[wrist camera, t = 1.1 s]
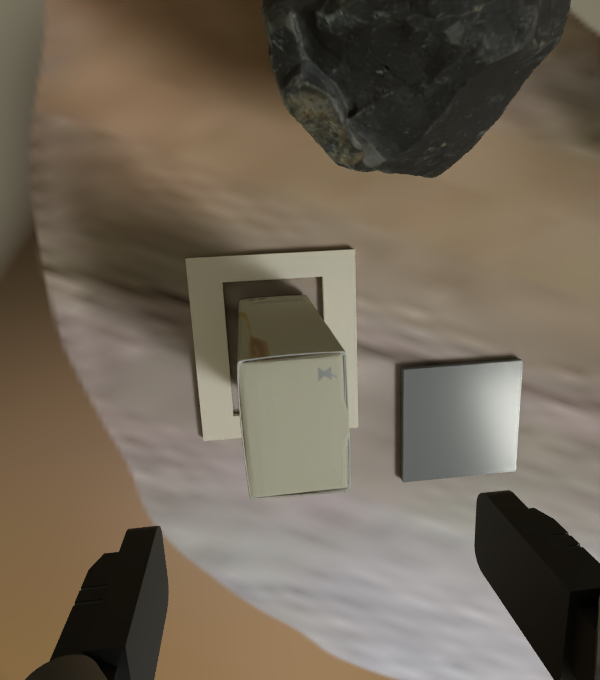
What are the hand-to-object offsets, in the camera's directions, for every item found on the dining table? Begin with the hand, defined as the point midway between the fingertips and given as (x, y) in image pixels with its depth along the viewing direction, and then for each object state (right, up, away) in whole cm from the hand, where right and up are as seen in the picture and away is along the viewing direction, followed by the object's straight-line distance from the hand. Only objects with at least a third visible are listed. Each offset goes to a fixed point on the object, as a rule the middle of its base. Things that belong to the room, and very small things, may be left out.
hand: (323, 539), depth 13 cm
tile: (+10, 0, +21) cm, 24 cm away
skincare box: (-2, +5, +19) cm, 20 cm away
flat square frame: (-2, +5, +19) cm, 20 cm away
